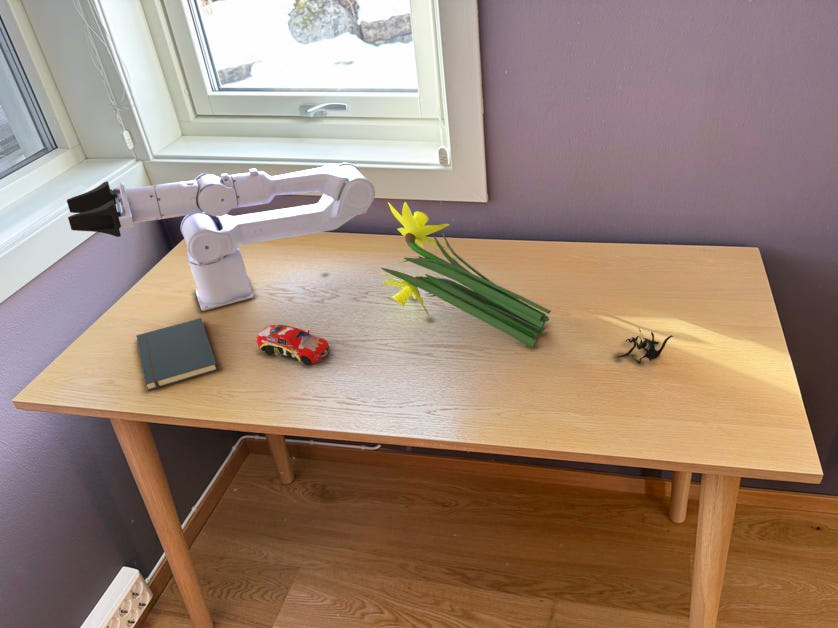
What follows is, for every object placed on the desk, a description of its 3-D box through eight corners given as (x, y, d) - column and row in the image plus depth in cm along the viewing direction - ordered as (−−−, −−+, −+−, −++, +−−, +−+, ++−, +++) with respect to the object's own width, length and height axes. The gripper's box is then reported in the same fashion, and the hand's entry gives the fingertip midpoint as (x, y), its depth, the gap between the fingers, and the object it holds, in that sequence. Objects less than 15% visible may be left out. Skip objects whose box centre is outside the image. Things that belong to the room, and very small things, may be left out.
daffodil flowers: (508, 377, 120) (333, 278, 129) (533, 369, 134) (374, 280, 143) (555, 281, 116) (372, 186, 126) (577, 283, 130) (410, 197, 139)
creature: (608, 357, 123) (638, 374, 117) (605, 327, 121) (635, 342, 114) (647, 343, 126) (679, 358, 119) (645, 313, 124) (677, 326, 117)
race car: (337, 352, 127) (333, 332, 124) (317, 370, 123) (313, 350, 121) (275, 334, 132) (270, 315, 130) (254, 351, 128) (249, 331, 126)
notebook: (203, 324, 136) (201, 317, 135) (218, 370, 124) (216, 363, 124) (138, 342, 132) (136, 335, 132) (148, 391, 121) (145, 384, 120)
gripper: (147, 165, 133) (61, 176, 128) (156, 195, 122) (63, 208, 117) (155, 203, 137) (72, 215, 132) (166, 235, 126) (75, 249, 121)
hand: (68, 214), depth 125 cm, fingers open, 7 cm apart
